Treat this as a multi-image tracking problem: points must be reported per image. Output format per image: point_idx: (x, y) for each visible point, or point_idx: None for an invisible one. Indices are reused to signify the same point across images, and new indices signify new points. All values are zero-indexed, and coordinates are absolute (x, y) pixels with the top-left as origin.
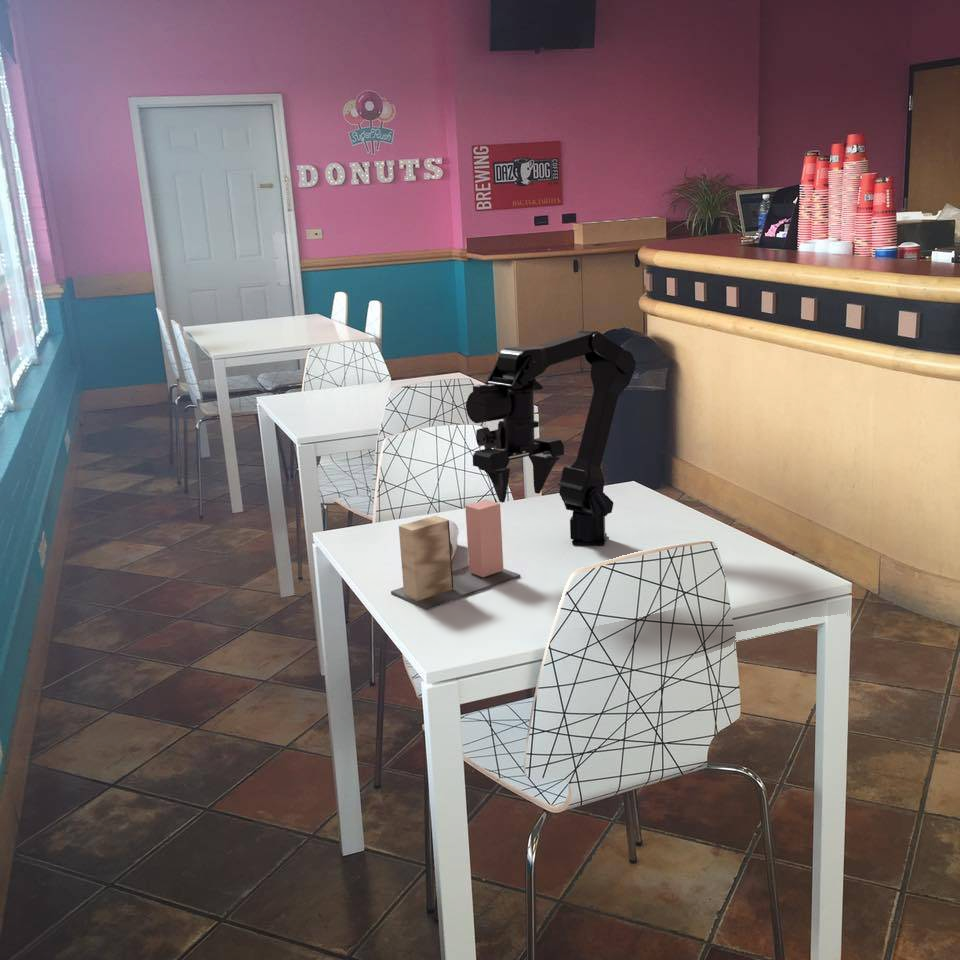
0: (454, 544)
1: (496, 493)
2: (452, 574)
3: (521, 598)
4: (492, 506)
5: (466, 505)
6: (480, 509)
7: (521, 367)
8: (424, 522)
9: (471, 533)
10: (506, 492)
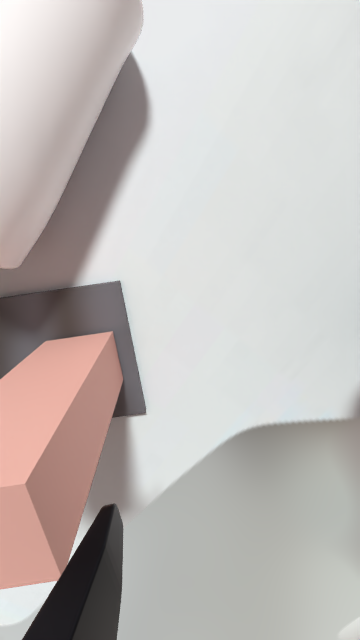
0: (14, 253)
1: (70, 562)
2: (5, 319)
3: (89, 491)
4: (8, 582)
5: None
6: None
7: None
8: None
9: None
10: (115, 625)
